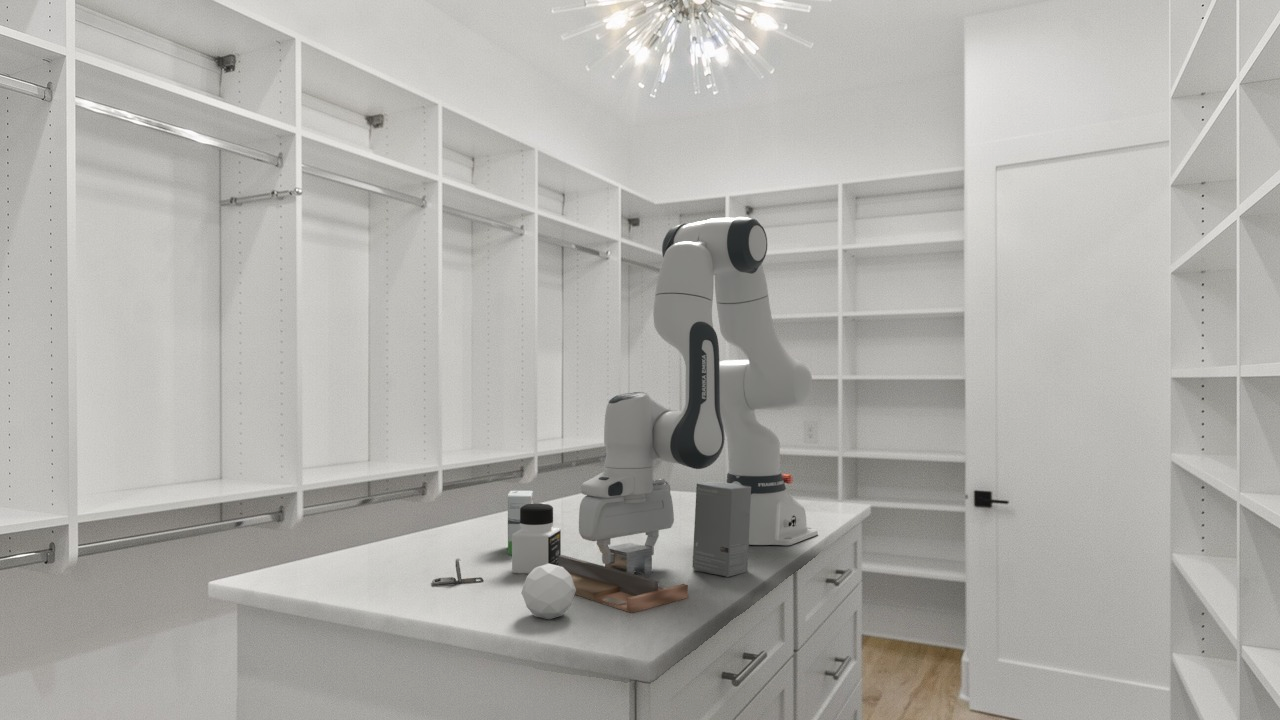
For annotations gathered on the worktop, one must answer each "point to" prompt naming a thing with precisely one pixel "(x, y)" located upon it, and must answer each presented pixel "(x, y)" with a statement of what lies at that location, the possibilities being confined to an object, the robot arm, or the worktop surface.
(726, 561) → the skincare box
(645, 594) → the board
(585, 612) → the worktop surface
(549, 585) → the geometric ball
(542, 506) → the medicine bottle
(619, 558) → the grey square block
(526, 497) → the ink box
